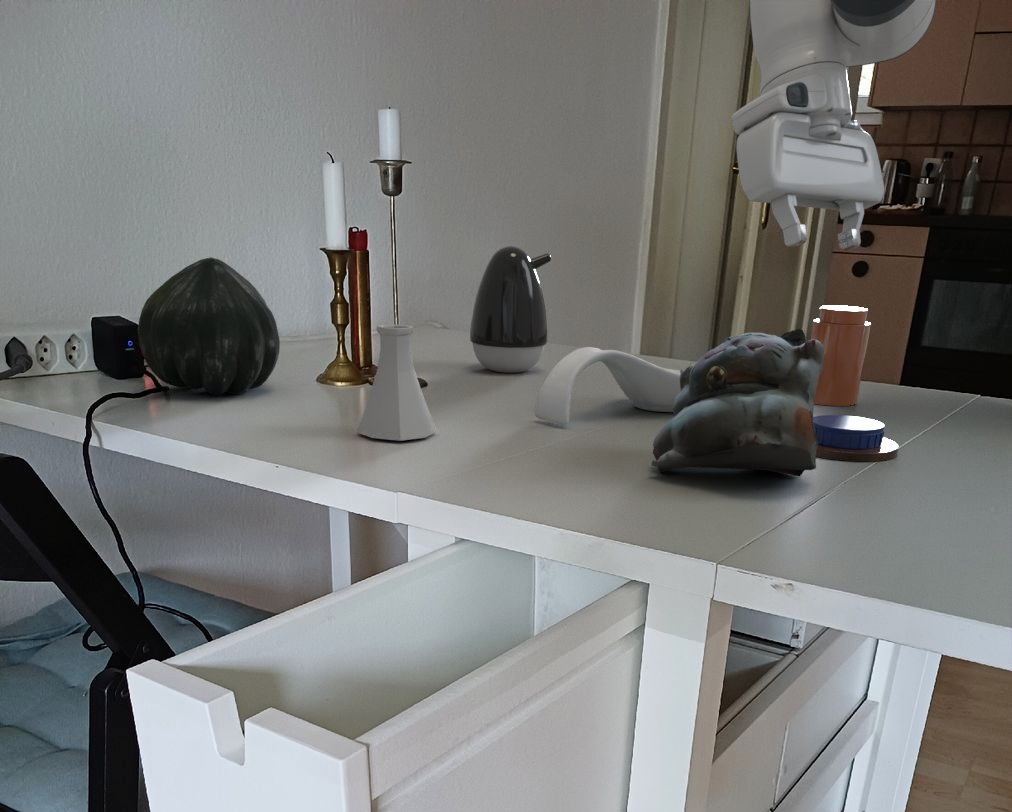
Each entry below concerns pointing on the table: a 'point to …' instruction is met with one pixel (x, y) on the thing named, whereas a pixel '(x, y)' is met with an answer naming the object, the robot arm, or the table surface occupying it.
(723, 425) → the lucky cat figurine
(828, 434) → the jar lid
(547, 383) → the spoon rest
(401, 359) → the flask
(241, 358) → the squash
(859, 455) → the coaster
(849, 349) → the jar
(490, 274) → the pump dispenser
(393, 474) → the table surface
